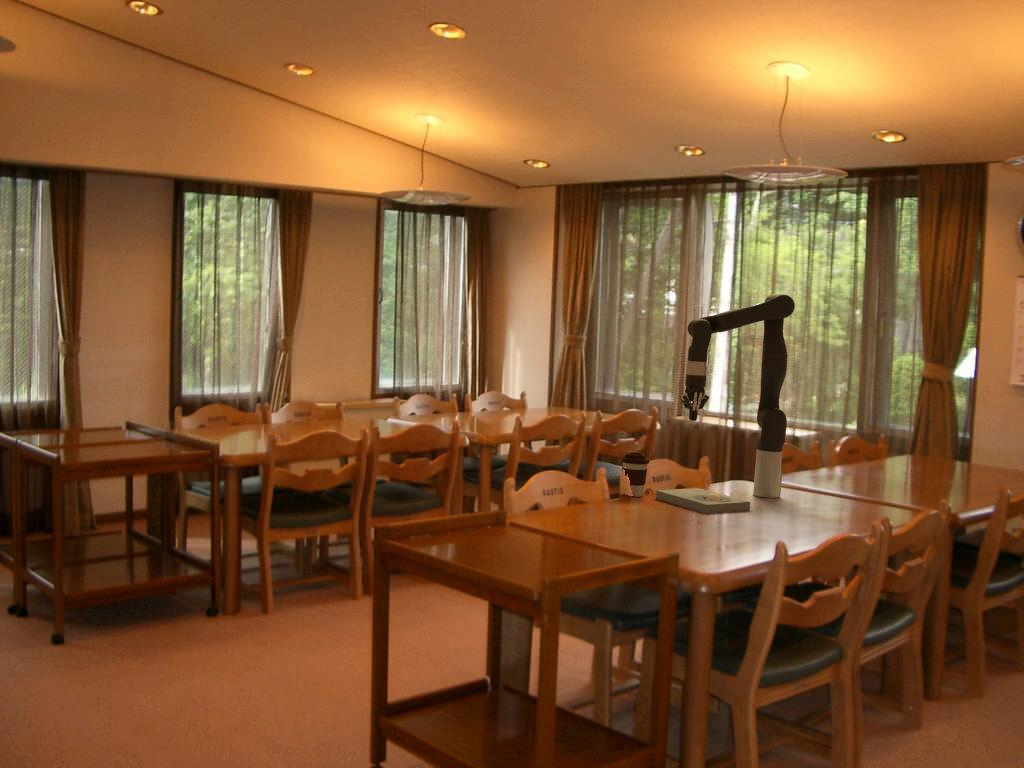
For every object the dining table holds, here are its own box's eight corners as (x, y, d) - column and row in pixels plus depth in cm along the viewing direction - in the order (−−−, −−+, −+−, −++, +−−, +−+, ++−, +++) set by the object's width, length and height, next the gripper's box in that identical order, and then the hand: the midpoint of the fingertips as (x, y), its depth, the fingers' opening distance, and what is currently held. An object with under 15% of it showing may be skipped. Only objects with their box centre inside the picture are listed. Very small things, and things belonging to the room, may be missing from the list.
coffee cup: (646, 493, 378) (649, 452, 377) (647, 498, 368) (650, 456, 367) (618, 491, 379) (621, 450, 378) (618, 496, 369) (621, 454, 368)
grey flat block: (698, 496, 379) (699, 488, 379) (749, 510, 357) (750, 501, 357) (655, 498, 369) (656, 490, 368) (705, 513, 347) (706, 504, 346)
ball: (716, 511, 359) (708, 501, 362) (725, 501, 358) (718, 491, 361) (708, 509, 356) (700, 498, 359) (717, 499, 354) (710, 488, 357)
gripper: (702, 373, 388) (699, 419, 389) (675, 372, 381) (672, 419, 382) (716, 374, 381) (713, 421, 383) (689, 374, 374) (685, 422, 376)
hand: (692, 420), depth 382 cm, fingers closed
